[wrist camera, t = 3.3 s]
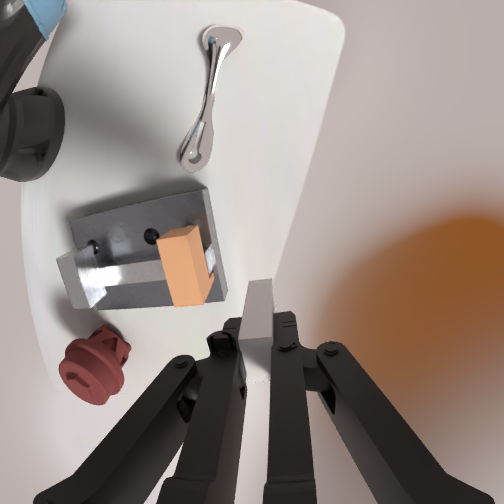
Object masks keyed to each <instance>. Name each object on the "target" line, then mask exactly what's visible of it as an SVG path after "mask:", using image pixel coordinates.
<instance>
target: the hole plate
mask: <svg viewBox="0 0 504 504" xmlns="http://www.w3.org/2000/svg"><path fill="white" fill-rule="evenodd" d="M70 224H71V228H72V232H73V236H74V240H75V244H76V247H77V248H79V247H84V246H87V245H89V244H90V243H94V244H95V245H96V251H95V252H94V255H95V258H96V262H97V264H101V263H108V262H114V261H121V260H128V259H134V258H141V257H148V256H155V255H160V253H159V249H158V245H157V241H156V240H157V239H159V238H160V237H161V236H163V235H164V234H165V233H167V232H168V231H170V230H172V229H178V228H184V227H187V226H189V225H192V226H196V225H198V227H199V232H200V237H201V242H202V247H203V248H209V252H210V257H211V261H212V266H213V269H212V271H211V272H213V274H214V278H215V279H214V281H213V283H212V285H211V289H210V291H209V294H208V296H207V298H206V300H205V303H210V302H220V301H225V298H226V294H227V291H228V288H227V284H226V279H225V274H224V269H223V264H222V259H221V254H220V249H219V244H218V239H217V234H216V229H215V223H214V218H213V213H212V207H211V202H210V196H209V191H208V188H206V189H201V190H196V191H191V192H185V193H180V194H176V195H171V196H166V197H161V198H157V199H152V200H148V201H143V202H139V203H135V204H131V205H127V206H122V207H118V208H114V209H111V210H107V211H103V212H99V213H95V214H92V215H88V216H84V217H81V218H79V219H76V220H73V221H71V222H70ZM104 287H105V290H106V293H107V294H106V295H105V296H103V297H102V298H101V299H100V300H99V301H98V302H97V303H96V304H95V305H96V308H97V310H111V309H131V308H147V307H162V306H174V304H173V300H172V297H171V294H170V290H169V287H168V283H167V280H159V281H150V282H140V283H131V284H121V285H111V286H104Z"/></svg>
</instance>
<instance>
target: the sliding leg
mask: <svg viewBox="0 0 504 504" xmlns="http://www.w3.org/2000/svg"><path fill="white" fill-rule="evenodd" d="M156 241H157V245H158V249H159V253H160V257H161V261H162V265H163V269H164V272H165V276H166V280H167V283H168V287H169V290H170V294H171V297H172V300H173V304H174V307H183V306H195V305H204V303H205V300H206V298H207V296H208V294H209V291H210V289H211V285H212V283H213V281H214V279H215V278H214V274H213V272H211V273H210V275H209V274H208V270H207V265H206V261H205V256H204V251H203V247H202V242H201V237H200V232H199V227H198V225H196V226H192V225H189V226H187V227H184V228H178V229H172V230H170V231H168V232H167V233H165V234H164V235H163V236H161V237H160V238H159V239H157V240H156Z"/></svg>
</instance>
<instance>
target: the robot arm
mask: <svg viewBox="0 0 504 504" xmlns="http://www.w3.org/2000/svg"><path fill="white" fill-rule="evenodd" d="M66 9H67V3H66V0H0V176H1V177H4V178H7V179H11V180H14V181H18V182H27V181H32V180H36V179H38V178H40V177H42V176H43V175H44V174H45V173H46V172H47V171H48V170H49V168H50V167H51V166H52V164H53V162H54V160H55V158H56V156H57V154H58V152H59V149H60V146H61V142H62V138H63V133H64V123H65V117H64V108H63V104H62V101H61V99H60V97H59V96H58V94H57V93H56V92H55V91H53V90H51V89H48V88H43V87H33V88H29V89H26V90H22V91H18V92H15V93H12V92H13V90H14V88H15V87H16V84H17V83H18V81H19V80H20V78H21V76H22V75H23V73H24V71H25V70H26V68H27V66H28V65H29V63H30V62H31V60H32V59H33V57H34V56H35V54H36V53H37V52H38V50H39V48H40V47H41V46H42V45H43V43H44V42H45V41H47V40H48V38H49V35H50V33H51V32H52V30H53V29H54V28H55V26H56V25H57V24H58V22H59V21H60V20H61V19H62V17H63V16H64V14H65V12H66ZM207 343H208V346H209V349H210V357H208V358H205V359H202V360H198V361H195V360H194V358H193V357H192V356H189V355H180V356H177V357H175V358H173V359H172V360H171V361H170V362H169V363H168V364H167V365H166V366H165V367H164V369H163V370H162V371H161V372H160V373H159V375H158V376H157V377H156V378H155V379H154V380H153V382H152V383H151V384H150V385H149V386H148V388H147V389H146V390H145V391H144V392H143V393H142V395H141V396H140V397H139V398H138V399H137V400H136V402H135V403H134V404H133V405H132V406H131V408H130V409H129V410H128V411H127V412H126V413H125V415H124V416H123V417H122V418H121V419H120V420H119V422H118V423H117V424H116V425H115V426H114V427H113V429H112V430H111V431H110V432H109V433H108V434H107V436H106V437H105V438H104V439H103V440H102V441H101V443H100V444H99V445H98V446H97V447H96V448H95V450H94V451H93V452H92V453H91V454H90V455H89V457H88V458H87V459H86V460H85V461H84V462H83V463H82V465H81V466H80V467H79V468H78V469H77V470H76V472H75V473H74V474H73V475H72V476H70V477H68V478H66V479H65V480H63V481H61V482H59V483H57V484H56V485H54V486H52V487H50V488H48V489H46V490H44V491H42V492H41V493H39V494H38V495H36V497H35V498H34V501H33V504H144V502H145V501H146V499H147V498H148V496H149V495H150V493H151V492H152V490H153V489H154V487H155V486H156V484H157V483H158V481H159V479H160V478H161V476H162V475H163V473H164V472H165V470H166V469H167V467H168V466H169V464H170V462H171V461H172V459H173V458H174V456H175V455H176V453H177V452H178V450H179V448H180V447H181V445H182V443H183V442H184V443H183V446H182V450H181V453H180V456H179V460H178V463H177V467H176V470H175V473H174V475H173V476H172V477H169V478H166V479H165V480H164V483H163V484H162V487H161V490H160V493H159V496H158V500H157V503H156V504H234V500H235V492H236V484H237V475H238V466H239V459H240V450H241V441H242V432H243V423H244V415H245V406H246V397H247V386H246V376H247V380H248V382H262V381H270V417H269V444H268V446H269V447H268V468H267V482H266V484H265V486H264V493H263V504H317V497H316V485H315V479H314V469H313V457H312V446H311V436H310V427H309V426H310V425H309V416H308V407H307V398H306V390H307V391H317V392H318V396H319V397H320V399H321V401H322V403H323V404H324V407H325V409H326V410H327V412H328V414H329V416H330V418H331V419H332V421H333V423H334V425H335V426H336V429H337V431H338V432H339V434H340V436H341V438H342V440H343V442H344V443H345V445H346V447H347V449H348V450H349V452H350V454H351V456H352V458H353V459H354V462H355V463H356V465H357V467H358V469H359V471H360V472H361V474H362V476H363V477H364V479H365V481H366V483H367V485H368V487H369V488H370V490H371V492H372V494H373V495H374V497H375V499H376V501H377V503H378V504H495V502H494V500H493V498H492V497H491V496H490V495H488V494H486V493H484V492H482V491H480V490H478V489H476V488H474V487H472V486H469V485H467V484H466V483H464V482H462V481H460V480H458V479H456V478H454V477H452V476H451V475H449V474H447V473H446V472H445V471H444V470H443V468H442V467H441V466H440V465H439V463H438V462H437V461H436V460H435V458H434V457H433V456H432V454H431V453H430V452H429V450H428V449H427V448H426V447H425V445H424V444H423V443H422V442H421V440H420V439H419V438H418V437H417V435H416V434H415V433H414V431H413V430H412V429H411V428H410V426H409V425H408V424H407V423H406V421H405V420H404V419H403V418H402V416H401V415H400V414H399V413H398V411H397V410H396V409H395V408H394V406H393V405H392V404H391V403H390V401H389V400H388V399H387V398H386V396H385V395H384V394H383V393H382V391H381V390H380V389H379V388H378V387H377V385H376V384H375V383H374V381H373V380H372V379H371V378H370V377H369V375H368V374H367V373H366V372H365V370H364V369H363V368H362V367H361V365H360V364H359V363H358V362H357V361H356V359H355V358H354V357H353V356H352V354H351V353H350V352H349V351H348V349H347V348H346V347H345V346H344V345H343V344H342V343H339V342H332V341H330V342H325V343H323V344H321V345H320V346H318V347H317V350H316V349H308V348H305V347H303V346H302V345H301V344H300V342H299V338H298V331H297V324H296V317H295V315H294V314H293V313H292V312H291V311H288V312H280V313H276V306H275V299H274V291H273V284H272V279H263V280H255V281H249V284H248V289H247V294H246V300H245V305H244V310H243V316H242V317H238V318H229V319H228V320H227V321H226V322H225V323H224V326H223V330H222V331H217V332H214V333H212V334H211V335H209V336H208V338H207Z"/></svg>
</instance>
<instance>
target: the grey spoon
mask: <svg viewBox="0 0 504 504" xmlns="http://www.w3.org/2000/svg"><path fill="white" fill-rule="evenodd" d="M243 35H244V31H243V29H242V28H241V27H239V26H235V25H226V24H220V25H214V26H211V27H209V28H208V29H207V30H206V31H205V32H204V34H203V38H202V41H203V45H204V48H205V51H206V53H207V56H208V59H209V66H210V71H209V80H208V85H207V89H206V92H205V96H204V99H203V104H202V108H201V111H200V113H199V116H198V117H197V119H196V121H195V122H194V124H193V126H192V127H191V129H190V131H189V133H188V135H187V137H186V140H185V142H184V144H183V147H182V150H181V154H180V163H181V165H182V167H183V168H184V169H185V170H186V171H188V172H189V173H194V172H197V171H200V170H202V169H203V168H204V167H205V166H206V164H207V162H208V160H209V158H210V154H211V150H212V145H213V135H214V131H213V125H212V108H213V104H214V94H215V82H216V76H217V73H218V70H219V67H220V65H221V63H222V62H223V60H224V59H225V58H226V57H227V56H228V55H229V54H230V53H231V52H232V51H233V50H234V49H235V48H236V47H237V46H238V45H239V43H240V42H241V40H242V38H243ZM200 122H206V124H205V128H204V132H203V136H202V140H201V143H200V147H199V151H198V152H199V153H200V154H201V160H200V161H199V162H198V163H196V164H192V163H191V162H190V161H189V155H190V153H192V152H193V149H194V145H195V141H196V137H197V133H198V130H199V126H200Z"/></svg>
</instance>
